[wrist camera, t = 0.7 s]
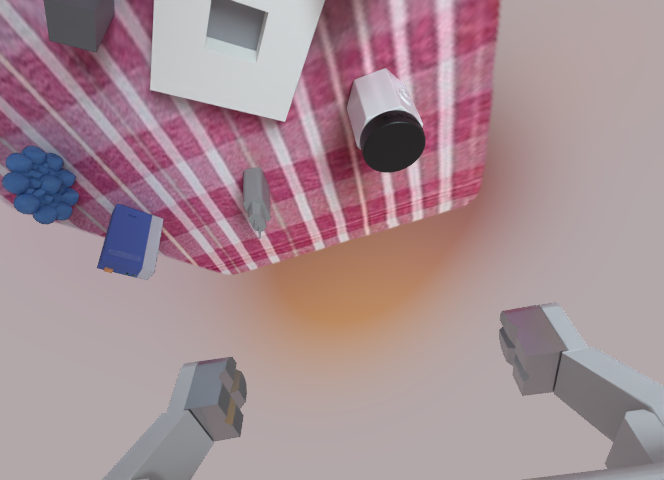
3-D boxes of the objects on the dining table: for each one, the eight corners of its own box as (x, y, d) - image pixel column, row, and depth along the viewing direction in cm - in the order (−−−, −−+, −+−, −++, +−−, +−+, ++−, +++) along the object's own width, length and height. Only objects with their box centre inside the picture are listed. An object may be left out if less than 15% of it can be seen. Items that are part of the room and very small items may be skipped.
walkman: (112, 213, 70) (96, 270, 62) (117, 203, 68) (101, 260, 61) (158, 227, 74) (148, 282, 67) (164, 218, 72) (155, 274, 65)
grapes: (-4, 131, 55) (-42, 193, 48) (44, 121, 55) (12, 181, 48) (55, 190, 64) (30, 250, 57) (96, 182, 64) (76, 241, 57)
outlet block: (164, -122, 38) (158, -112, 35) (332, -53, 44) (337, -40, 41) (154, 72, 52) (150, 89, 49) (283, 105, 58) (284, 121, 55)
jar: (416, 93, 59) (441, 144, 52) (376, 130, 64) (393, 183, 56) (375, 56, 54) (395, 107, 47) (334, 99, 58) (347, 153, 51)
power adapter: (252, 193, 70) (253, 247, 63) (242, 170, 66) (241, 225, 59) (270, 189, 70) (273, 243, 63) (260, 166, 66) (262, 221, 59)
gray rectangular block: (70, -38, 42) (43, -3, 36) (113, -24, 43) (94, 11, 38) (73, 2, 45) (49, 40, 39) (114, 14, 46) (96, 52, 41)
